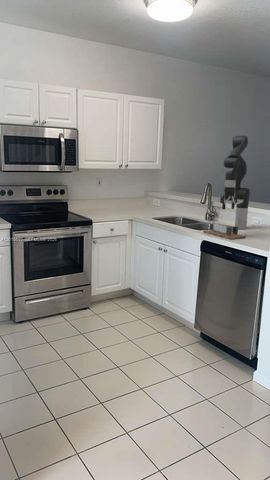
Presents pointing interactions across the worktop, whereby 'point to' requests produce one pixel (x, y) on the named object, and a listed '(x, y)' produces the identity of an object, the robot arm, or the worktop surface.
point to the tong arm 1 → (222, 229)
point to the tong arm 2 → (233, 228)
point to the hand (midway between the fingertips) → (228, 209)
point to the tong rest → (223, 235)
